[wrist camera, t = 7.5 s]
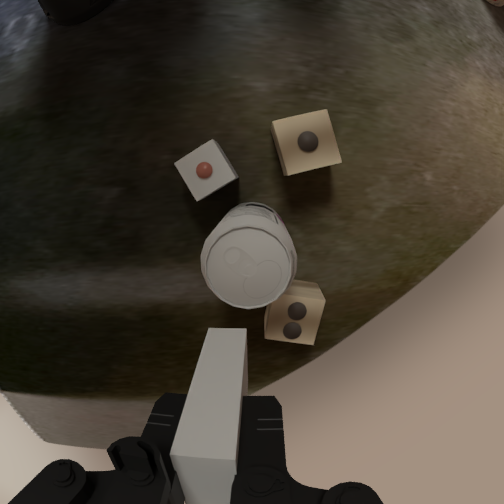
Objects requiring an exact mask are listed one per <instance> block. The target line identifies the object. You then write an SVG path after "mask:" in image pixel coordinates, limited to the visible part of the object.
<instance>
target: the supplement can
mask: <svg viewBox="0 0 504 504" xmlns="http://www.w3.org/2000/svg"><path fill="white" fill-rule="evenodd" d="M296 271H297V254H296V251H295V248H294V245H293V242H292V239H291V237H290V235H289V233H288V231H287V229H286V227H285V225H284V223H283V221H282V219H281V217H280V216H279V215H278V214H277V213H276V211H275V210H274V209H272V208H270V207H269V206H267V205H265V204H262V203H257V202H248V203H242V204H239V205H237V206H236V207H234V208H232V209H231V210H230V211H229V212H228V213H227V214H226V215H225V217H224V218H223V219H222V220H221V221H220V223H219V224H218V225H217V226H216V228H215V229H214V230H213V231H212V232H211V234H210V235H209V236H208V237H207V239H206V240H205V243H204V246H203V249H202V252H201V272H202V274H203V276H204V279H205V281H206V284H207V286H208V287H209V288H210V289H211V290H212V292H213V293H214V294H215V295H216V296H217V297H218V298H219V299H221V300H222V301H224V302H226V303H228V304H230V305H232V306H234V307H239V308H245V309H252V308H259V307H263V306H266V305H268V304H270V303H272V302H274V301H276V300H277V299H279V298H280V297H281V296H282V295H283V294H284V293H285V292H286V291H287V290H288V289H289V288H290V286H291V284H292V281H293V279H294V277H295V274H296Z"/></svg>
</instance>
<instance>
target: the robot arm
mask: <svg viewBox="0 0 504 504" xmlns="http://www.w3.org/2000/svg"><path fill="white" fill-rule="evenodd" d="M112 1H113V0H38V2H39V4H40V6H41V8H42V9H43V11H44V13H45V15H46V16H47V17H48V18H49V19H50V20H52V21H54V22H55V23H57V24H60V25H74V24H77V23H80V22H83V21H85V20H87V19H89V18H91V17H93V16H95V15H96V14H98V13H99V12H100V11H102V10H103V9H104V8H106V7H107V6H108V5H109V4H110V3H111V2H112ZM247 389H248V369H247V329H246V328H209V329H208V332H207V335H206V338H205V341H204V344H203V347H202V351H201V354H200V357H199V360H198V363H197V367H196V370H195V373H194V376H193V379H192V382H191V386H190V389H189V392H188V394H176V393H165V394H164V395H163V396H161V397H160V398H159V399H158V400H157V401H156V402H155V405H154V407H153V409H152V412H151V415H150V416H149V419H148V421H147V422H148V423H147V424H146V426H145V428H144V431H143V433H142V435H141V437H126V438H122V439H119V440H117V441H116V442H114V443H112V444H111V445H110V447H109V448H108V449H107V452H108V455H109V457H110V459H111V461H112V463H113V465H114V467H115V470H111V471H85V470H84V468H83V467H82V466H81V465H80V464H78V463H77V462H75V461H72V460H69V459H68V460H67V459H60V460H57V461H53V462H52V463H50V464H49V465H47V466H46V467H45V468H44V469H43V470H42V471H41V472H40V473H39V474H38V475H37V476H36V477H35V478H34V479H33V480H32V481H31V482H30V483H29V484H28V485H27V486H25V487H24V488H23V489H22V491H20V492H19V493H18V494H17V495H16V496H15V497H14V498H13V499H12V500H11V501H10V502H9V503H8V504H184V501H185V503H186V504H383V502H382V501H381V500H380V498H379V496H378V495H377V493H376V492H375V491H374V490H372V488H371V487H369V486H367V485H365V484H362V483H358V482H346V483H340V484H338V485H336V486H334V487H332V488H330V489H329V490H324V489H318V488H312V487H308V486H305V485H302V484H300V483H298V482H297V481H295V480H294V479H293V478H292V477H291V476H290V475H289V473H288V471H287V467H286V459H285V444H284V431H283V420H282V406H281V405H280V403H279V402H278V401H277V399H276V398H275V396H247Z"/></svg>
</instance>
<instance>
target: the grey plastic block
mask: <svg viewBox="0 0 504 504" xmlns="http://www.w3.org/2000/svg"><path fill="white" fill-rule="evenodd" d="M174 164H175V166H176V168H177V169H178V171H179V173H180V174H181V176H182V178H183V179H184V181H185V183H186V184H187V186H188V188H189V189H190V191H191V193H192V194H193V196H194V198H195V199H196V201H199V200H202V199H204V198H206V197H207V196H209V195H211V194H212V193H214V192H215V191H217V190H219V189H220V188H222V187H224V186H225V185H227V184H229V183H230V182H232V181H234V180H235V179H237V178H239V177H238V175H237V173H236V172H235V170H234V168H233V167H232V165H231V163H230V162H229V160H228V158H227V157H226V155H225V153H224V152H223V150H222V149H221V147H220V145H219V144H218V143H217V142H216V141H214V140H213V139H212V140H210V141H208V142H207V143H205V144H204V145H202V146H200V147H199V148H197V149H196V150H194V151H192V152H191V153H189V154H188V155H186V156H185V157H183V158H181V159H180V160H178V161H177V162H175V163H174Z"/></svg>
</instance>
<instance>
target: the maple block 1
mask: <svg viewBox="0 0 504 504" xmlns="http://www.w3.org/2000/svg"><path fill="white" fill-rule="evenodd" d="M271 133H272V136H273V139H274V143H275V146H276V150H277V153H278V157H279V160H280V164H281V167H282V171H283V175H285V176H288V175H292V174H296V173H300V172H304V171H308V170H312V169H316V168H321V167H325V166H329V165H333V164H337V163H342V161H341V157H340V153H339V150H338V146H337V142H336V139H335V135H334V132H333V128H332V125H331V122H330V118H329V115H328V112H327V109H325V110H320V111H315V112H310V113H306V114H301V115H297V116H293V117H288V118H284V119H280V120H276V121H272V125H271Z"/></svg>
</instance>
